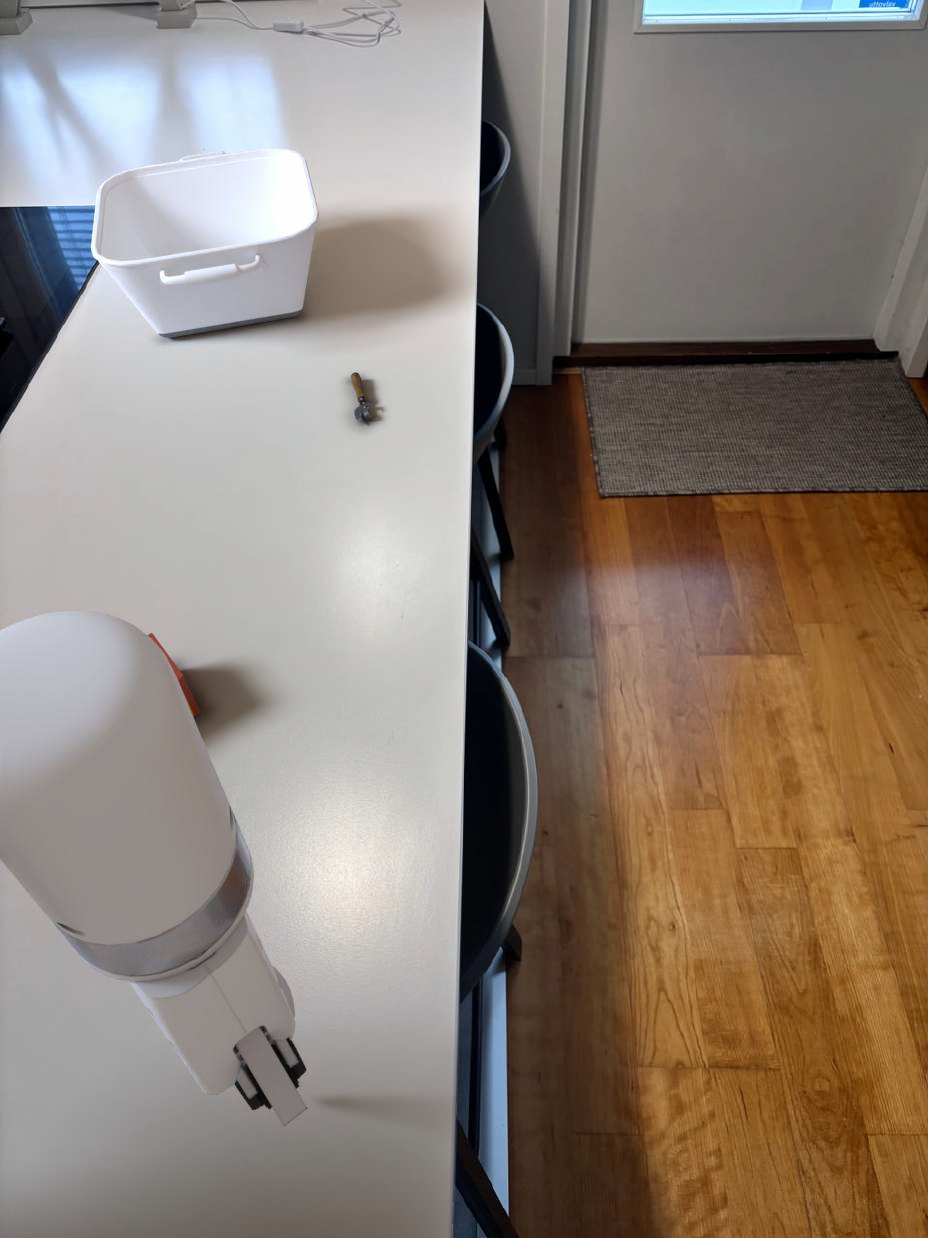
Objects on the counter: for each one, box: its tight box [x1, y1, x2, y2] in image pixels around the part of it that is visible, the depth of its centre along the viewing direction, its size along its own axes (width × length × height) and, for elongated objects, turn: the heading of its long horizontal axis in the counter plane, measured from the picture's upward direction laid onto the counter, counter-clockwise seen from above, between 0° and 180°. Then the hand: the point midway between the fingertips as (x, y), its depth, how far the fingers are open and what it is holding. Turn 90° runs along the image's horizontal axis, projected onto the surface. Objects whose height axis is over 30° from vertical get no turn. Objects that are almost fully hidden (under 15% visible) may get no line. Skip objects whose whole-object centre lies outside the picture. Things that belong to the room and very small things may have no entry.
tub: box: [90, 147, 320, 339], centre depth 121 cm, size 34×27×13 cm
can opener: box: [350, 371, 375, 424], centre depth 108 cm, size 9×2×1 cm, turn 7°
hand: (245, 1031), depth 51 cm, fingers closed on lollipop, 6 cm apart
